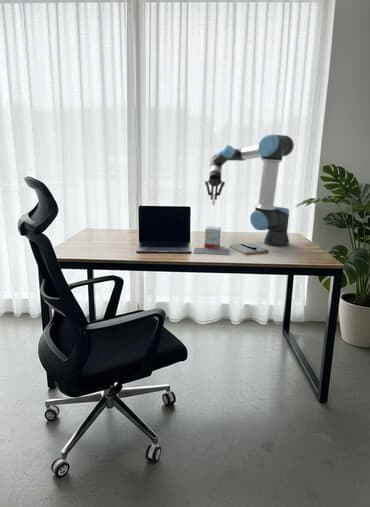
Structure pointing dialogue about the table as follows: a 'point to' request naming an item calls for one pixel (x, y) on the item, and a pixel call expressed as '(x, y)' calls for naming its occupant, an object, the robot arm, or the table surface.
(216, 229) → the ink box
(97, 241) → the table surface
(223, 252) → the felt pad
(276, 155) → the robot arm
